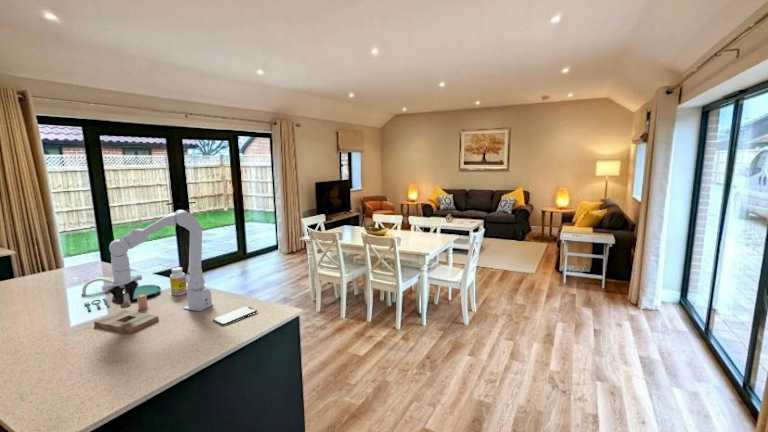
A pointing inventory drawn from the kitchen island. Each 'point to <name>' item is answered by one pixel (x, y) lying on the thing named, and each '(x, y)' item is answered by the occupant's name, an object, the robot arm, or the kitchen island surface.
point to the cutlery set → (140, 290)
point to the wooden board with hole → (120, 324)
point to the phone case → (234, 315)
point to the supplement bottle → (178, 282)
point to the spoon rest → (106, 279)
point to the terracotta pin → (142, 302)
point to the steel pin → (126, 300)
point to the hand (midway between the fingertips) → (125, 302)
